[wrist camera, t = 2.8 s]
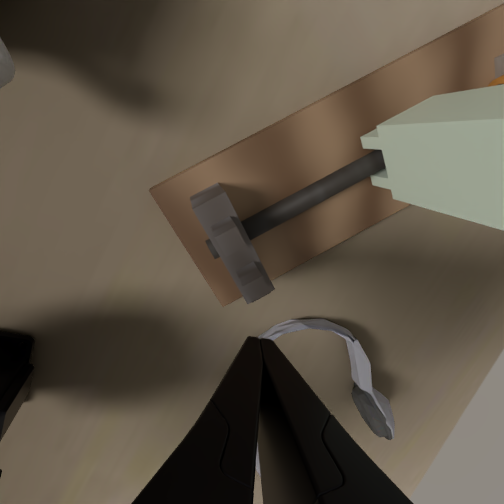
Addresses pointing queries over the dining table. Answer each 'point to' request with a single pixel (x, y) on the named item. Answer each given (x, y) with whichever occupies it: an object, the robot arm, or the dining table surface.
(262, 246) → the cord board
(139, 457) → the dining table surface
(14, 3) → the dining table surface
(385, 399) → the headphones
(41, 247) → the dining table surface
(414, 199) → the pale green box
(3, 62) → the teacup
